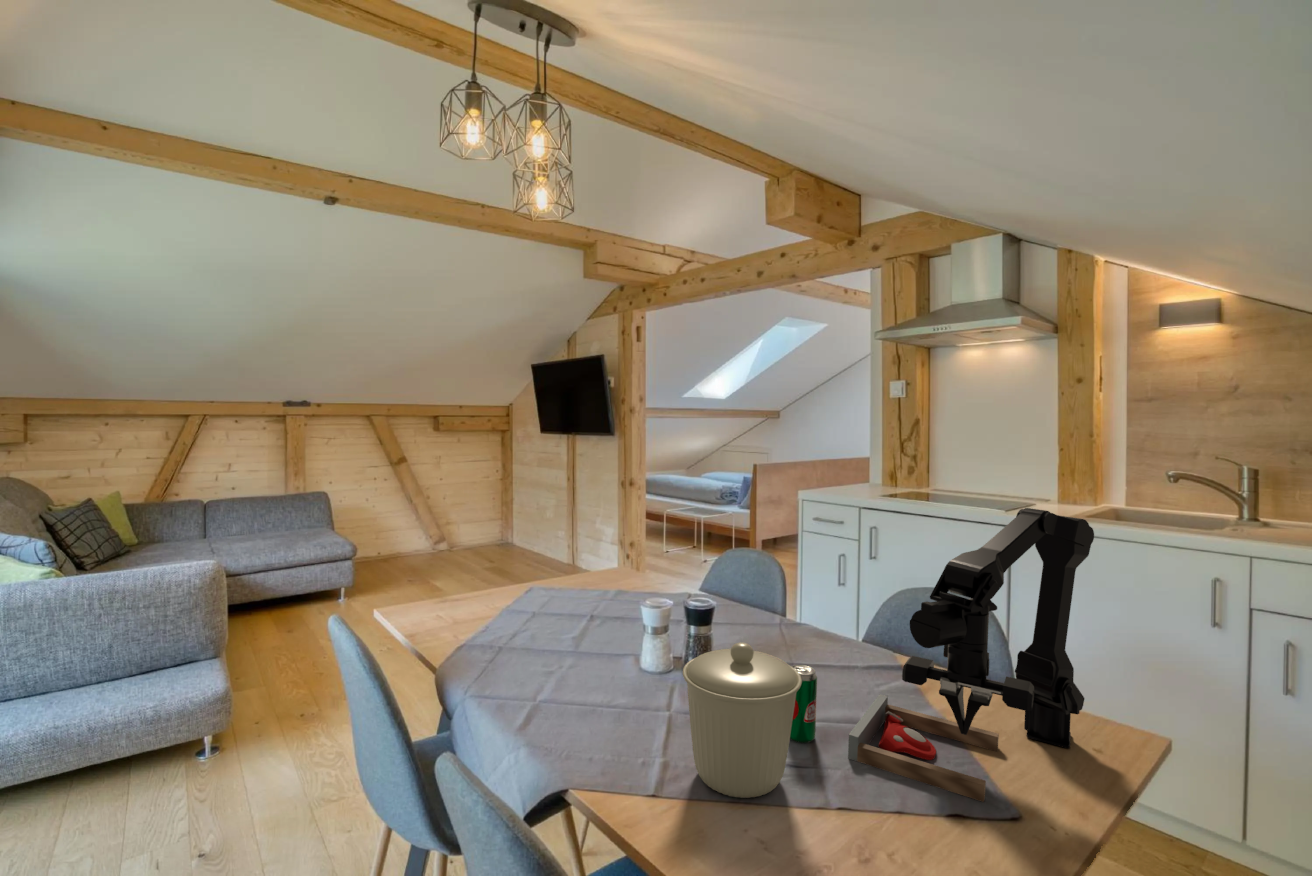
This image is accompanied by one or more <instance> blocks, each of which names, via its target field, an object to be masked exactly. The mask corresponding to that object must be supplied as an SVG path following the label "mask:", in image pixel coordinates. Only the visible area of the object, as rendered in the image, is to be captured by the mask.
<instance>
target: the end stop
mask: <svg viewBox="0 0 1312 876" xmlns="http://www.w3.org/2000/svg"><path fill="white" fill-rule="evenodd" d="M888 697H889V696H888V695H884V694H878V696H877V697H876V698H875V700H874V701H873V702H872V704H871V705H870V706H869V707H868V708H867V710H866V711H865V713H864V714H863V715H862V717H861V718H860V719H859V721H858V722H857V723H856V724H855V726H854V727H853V728H852V730H851V731H850V732H849V734H848V745H847V746H848V747H847V748H848V750H847V752H848V753H847V759H848V760H852V761H854V762H858V761H857V752H858V745H859V744H860V743H864V744H867V745H870V743H871V742H872V740H873V739H874V737H875V736H876V734H877V733H878V731H879V730H880V729H881V727H882V726H883V725H884V724H885V707H886V706H887V704H888V702H889V701H888V700H889V698H888Z"/></svg>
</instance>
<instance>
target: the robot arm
mask: <svg viewBox="0 0 1312 876" xmlns="http://www.w3.org/2000/svg"><path fill="white" fill-rule="evenodd" d="M1094 540H1095V531H1094V528H1093V527H1092V526H1091V525H1090V524H1089V522H1088V521H1087V520H1086V519H1084V518H1079V517H1078V518H1077V517H1072V516H1065V515H1058V514H1055V513H1053V512H1051V511H1049V510H1046V509H1038V508H1032V507H1031V508H1030V507H1025V508H1020V509H1019V510H1018V511H1017V514H1016V517H1015V518H1013V519H1012V520H1011V521H1010V522H1008V524H1006V525H1005V526H1004V527H1003V528H1002V529H1000V531H998V532H997V533H996V534H995V535H994V536H993V537H992V538H990V539H989V540H988V541H987V542H985V544H983V545H982V546H981V547H980V548H977V549H974V550H970V551H966V552H963V553H961V554H959V555H958V556H955V557H954V558H952V559H950V560H949V561H948V562H947V564H946V565H945V566H944V569H943V571H942V572H941V574H940V577H939V579H938V580H937V582H936V584H935V585H934V588H933V590H932V591H931V593H930V595H929V600H931V601H923V602H921V603H920V604H921V605H920V609H919V610H916V611H915V612H914V613H913V614H912V616H911V618H910V620H909V630H910V633H911V637H912V638H913V639H914V641H915V642H916V643H917V645H919V646H921V648H925V649H932V648H933V649H934V648H936V647H937V648H938V647H942V646H943V657H944V658H946V659H947V663H946V664H947V669H942V668H937V667H935V662H934V660H933V659H928V658H925V657H919V656H915V655H912V656H910V657H909V658H908V659H907V660H906V662H905V663H904V664H903V667H902V672H901V673H902V675H901V677H902V678H901V680H902V681H903V682H905V683H910V684H914V685H917V686H923V685H924V684H925V683H928V680H934V681H937V682H939V685H940V688H939V690H938V695H940V696H943V697H945V700H946V701H947V703H948V705H949V708H950V709H951V711H952V713H953V715H954V719H955V722H957V724H958V727H959V729H960V732H961V734H964V735H967V733H968V730H969V728H970V726H972V725H971V724H972V723H973V720H974V719H975V716H976V715H977V713H978V711H979V710H980V708H982V706H983V707H989V706H990V704H991V701H992V697H993V695H998V696H1001V697H1002V698H1001V700H1002V702H1003V703H1004V704H1005V706H1007V707H1009V708H1013V709H1017V710H1021V711H1024V726H1023V727H1024V728H1023V729H1024V730H1025V731H1026V738H1027V739H1030V740H1031V739H1032V740H1034V741H1038V742H1042V743H1046V744H1050V745H1054V746H1058V747H1061V748H1065V749H1070V748H1071V735H1072V734H1071V717H1072V715H1080V711H1082V710H1083V707H1084V702H1085V697H1084V695H1083V693H1082V692H1081V691H1080V689H1079V688H1078V686H1077V685H1076V684H1075V682H1074V674H1075V673H1074V672H1075V671H1074V666H1073V664H1072V662H1071V660H1070V658H1069V655H1068V654H1067V651H1066V646H1067V637H1068V631H1069V623H1070V615H1071V607H1072V601H1073V591H1074V585H1075V577H1076V570H1077V568H1078V567H1079V566H1080V565H1081V564H1082V563H1083V562H1084V561H1085V560H1086V559H1087V558H1088V557H1089V555H1090V552H1091V551H1090V550H1091V548H1092V547H1091V546H1092V544H1093V542H1094ZM1033 546H1035V549H1036V551H1037V553H1038V555H1039V557H1040V559H1041V561H1042V570H1041V579H1040V585H1039V594H1038V600H1037V605H1036V606H1037V607H1036V613H1035V623H1034V629H1033V638H1032V643H1031V644H1030V645H1029V646H1028V647H1026V649H1025V650H1024V651H1023V650H1020V651H1019V652H1018V653H1017V661H1016V666H1015V669H1014V673H1015V677H1011V676H1005V679H1004V682H1000V681H995V680H991V679H988V678H987V677H989V675H990V652H988V649H989V648H988V647H989V645H988V643H989V640H988V639H989V621H990V612H993V611H997V610H998V606H997V605H996V604H995V603H994V602H993V598H994V597H995V595H996V594H997V593H998V592H999V590H1000V589H1001V588H1002V587H1003V585H1004V583H1005V581H1004V580H1005V579H1004V578H1005V573H1006V571H1007V570H1008V569H1009V568H1010V567H1011V566H1013V564H1015V563H1016V561H1018V560H1019V559H1020V558H1021V557H1022V556H1023V555H1024V554H1025V553H1026V552H1028V551H1029V550H1030V549H1031V548H1032V547H1033ZM948 592H950V593H948ZM955 594H956V595H955ZM962 596H963V597H962ZM964 688H966V689H967V688H968V689H970V694H969V696H968V699H967V704H966V710H965V700H964V691H965V690H964ZM965 711H966V712H965Z"/></svg>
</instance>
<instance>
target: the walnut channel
mask: <svg viewBox="0 0 1312 876" xmlns="http://www.w3.org/2000/svg"><path fill="white" fill-rule="evenodd" d="M888 711H889V712H891V713H893V714H895V715H897V716H900V718H901V719H903V722H901V724H902V725H904V726H906V727H909V728H912V729H914V730H917V731H918V730H919V731H922V732H924V733H928V734H932V735H937V736H939V737H943V738H947V739H950V740H955V741H958V742H960V743H965V744H968V745H971V746H972V745H973V746H976V747H979V748H983V749H986V750H989V751H993V752H998V751H999V737H1000V733H998V732H994V731H990V730H986V729H982V728H978V727H974V726H972V725H970V728H969V730H968V733H967V735H964V734H961V732H960V729H959V727H958V724H957V721H952V720H949V719H946V718H945V719H944V718H941V717H938V716H933V715H929V714H927V713H923V712H918V711H914V710H911V709H907V708H903V707H900V706H896V705H892V704H887V706H886V707H885V713H887V712H888ZM886 717H887V716H885V720H886ZM856 762H857V763H861V764H865V765H866V766H871V767H874V768H877V769H880V770H883V771H885V772H889V773H892V774H896V775H898V776H902V777H903V778H904V777H905V778H907V779H910V780H914V781H916V782H917V781H918V782H920V783H922V784H927V785H929V786H932V787H936V788H938V789H941V790H944V791H948V792H951V793H954V794H956V795H957V794H958V795H961V796H964V797H967V798H969V799H973V800H975V801H979V802H982V803H984V802H985V799H986V784H987V783H986V780H985V779H982V778H978V777H975V776H971V775H968V774H965V773H962V772H960V771H959V772H958V771H955V770H952V769H949V768H945V767H941V766H938V765H936V764H932V763H929V762H925V761H922V760H919V759H916V758H912V757H911V756H907V755H903V754H899V753H897V752H890V751H887V750H883V749H880V748H879V747H876V746H872V745H870V744H869V745H867V744H864V743H860V744H859V745H858V752H857V761H856Z"/></svg>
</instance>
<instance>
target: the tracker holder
mask: <svg viewBox="0 0 1312 876" xmlns="http://www.w3.org/2000/svg"><path fill="white" fill-rule="evenodd" d="M885 716H887V717H886V720H885V721H884V723H883V725H884V726H883V730H882V735H881V737H880V740H879V743H878V744H877V746H878V747H877V748H880V749H883V750H887V751H890V752H893V753H905V754H909V755H910V756H913V757H916V758H918V759H919V758H920V759H922V760H927V761H932V760H934V759H935V757H936V754H937V749H936V747H935V746H934V745H933V743H932V742H931V741H930V740H929V739H927V738H926V736H924V735H923V734H922V733H921V732H919V731H918V730H917V729H914V728H911V727H907V726H904V725H902V724H901V722H903V719H901V718H900V716H897V715H895V714H893V713H891V712H889V711H888V712H887V713H885Z"/></svg>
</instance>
